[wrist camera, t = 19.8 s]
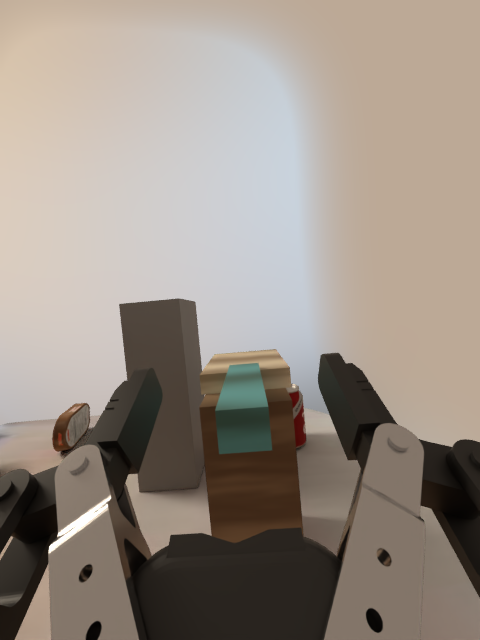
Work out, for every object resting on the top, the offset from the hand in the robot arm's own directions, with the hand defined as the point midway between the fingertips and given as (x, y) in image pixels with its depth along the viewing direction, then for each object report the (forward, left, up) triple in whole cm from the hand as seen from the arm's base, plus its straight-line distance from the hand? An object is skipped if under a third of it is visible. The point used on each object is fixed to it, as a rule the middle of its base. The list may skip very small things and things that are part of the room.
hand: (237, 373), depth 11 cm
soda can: (+37, +12, -26) cm, 47 cm away
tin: (+17, +62, -26) cm, 70 cm away
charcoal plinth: (+21, +29, -26) cm, 44 cm away
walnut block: (+12, +7, -26) cm, 30 cm away
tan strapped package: (+10, +6, -5) cm, 13 cm away
